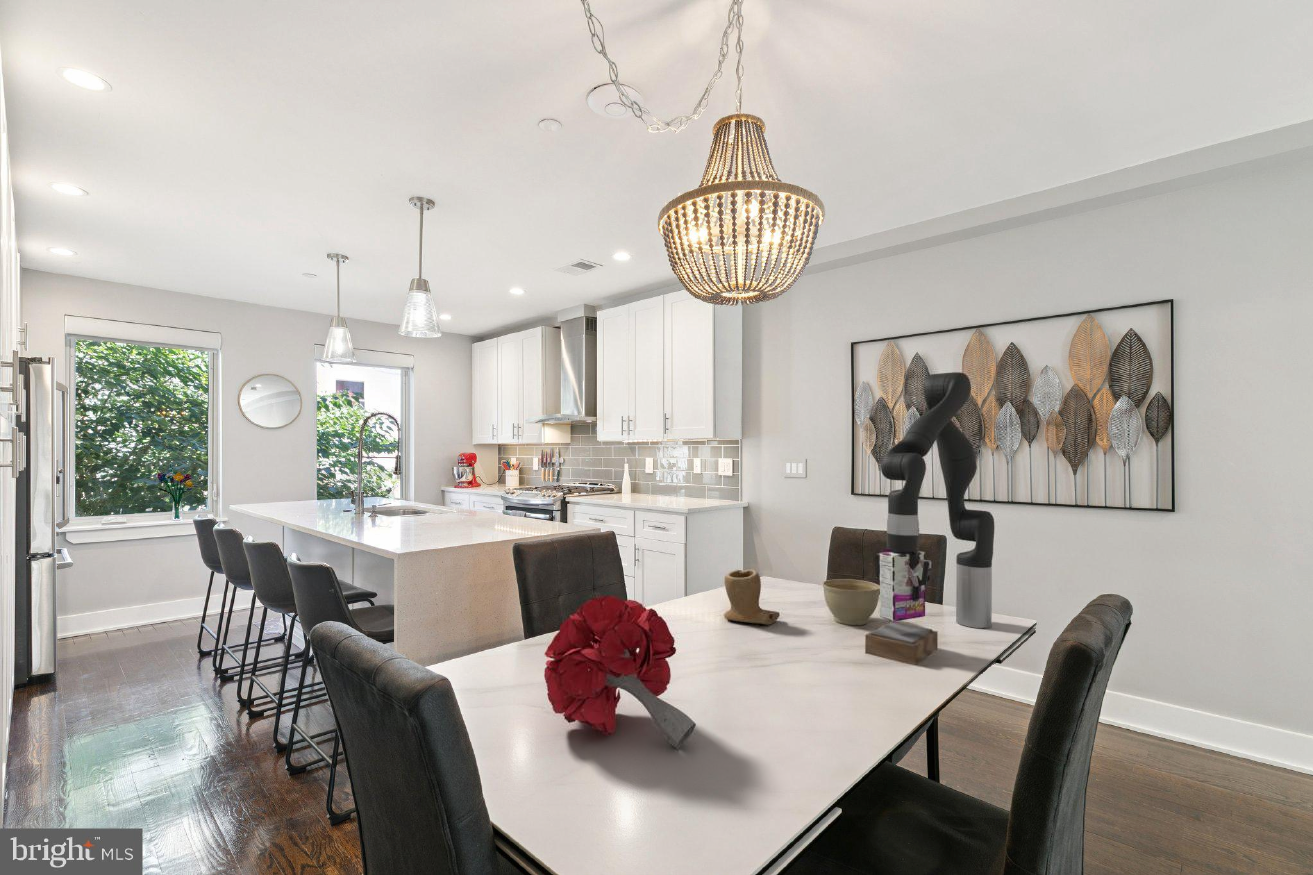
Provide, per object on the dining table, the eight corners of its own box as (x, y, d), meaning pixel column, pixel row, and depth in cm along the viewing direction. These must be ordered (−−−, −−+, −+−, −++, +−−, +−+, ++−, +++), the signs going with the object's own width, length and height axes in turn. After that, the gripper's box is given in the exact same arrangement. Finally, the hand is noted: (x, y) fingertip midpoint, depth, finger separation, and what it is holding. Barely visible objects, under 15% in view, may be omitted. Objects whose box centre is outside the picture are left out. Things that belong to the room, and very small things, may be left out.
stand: (890, 638, 164) (890, 619, 164) (937, 649, 156) (937, 629, 156) (865, 653, 152) (865, 632, 152) (914, 665, 144) (914, 643, 144)
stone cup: (716, 623, 177) (717, 571, 177) (732, 613, 187) (732, 564, 187) (766, 631, 169) (767, 577, 169) (780, 621, 180) (780, 569, 180)
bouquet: (693, 750, 116) (585, 646, 130) (747, 657, 108) (627, 557, 122) (624, 815, 98) (508, 686, 112) (683, 708, 91) (551, 585, 104)
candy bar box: (909, 612, 159) (910, 548, 159) (925, 617, 154) (926, 552, 155) (877, 616, 154) (878, 551, 154) (893, 622, 150) (894, 554, 150)
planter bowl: (885, 619, 183) (885, 582, 183) (872, 633, 169) (873, 593, 169) (831, 611, 191) (831, 576, 191) (815, 623, 178) (815, 585, 178)
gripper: (868, 530, 157) (868, 596, 156) (926, 536, 147) (926, 606, 147) (880, 527, 162) (880, 591, 162) (937, 533, 152) (937, 600, 152)
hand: (902, 598), depth 154 cm, fingers closed on candy bar box, 6 cm apart
